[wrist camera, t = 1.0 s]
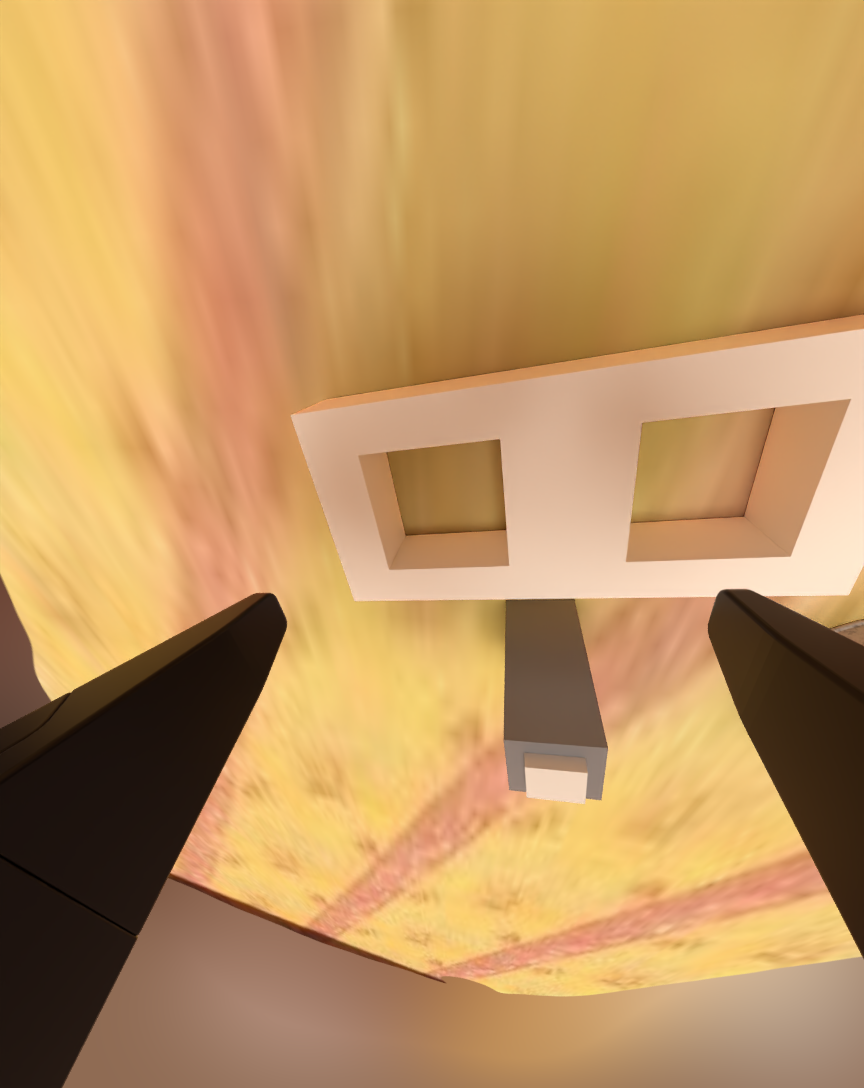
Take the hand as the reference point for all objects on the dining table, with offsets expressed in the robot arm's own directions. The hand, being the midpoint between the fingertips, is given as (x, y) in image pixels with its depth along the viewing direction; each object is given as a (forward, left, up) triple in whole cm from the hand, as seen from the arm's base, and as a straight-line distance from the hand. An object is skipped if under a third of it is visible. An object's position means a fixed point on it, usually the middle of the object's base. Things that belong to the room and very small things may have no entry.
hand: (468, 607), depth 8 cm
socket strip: (-3, +2, -12) cm, 13 cm away
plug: (-2, +12, -12) cm, 17 cm away
